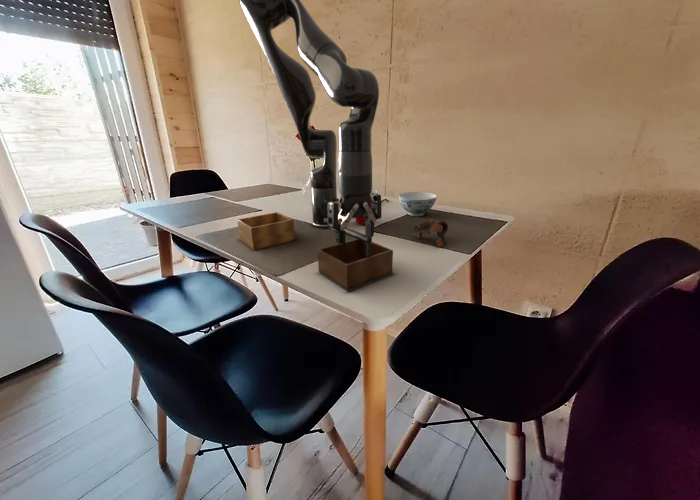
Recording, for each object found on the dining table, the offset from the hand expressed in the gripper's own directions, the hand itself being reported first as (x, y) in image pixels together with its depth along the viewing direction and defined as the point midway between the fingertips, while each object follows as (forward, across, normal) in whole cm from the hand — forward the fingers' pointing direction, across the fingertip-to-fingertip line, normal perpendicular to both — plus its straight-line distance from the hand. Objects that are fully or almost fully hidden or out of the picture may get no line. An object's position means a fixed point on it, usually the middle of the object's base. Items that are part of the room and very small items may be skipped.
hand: (355, 240), depth 75 cm
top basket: (+8, 0, 0) cm, 8 cm away
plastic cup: (+9, +29, +32) cm, 44 cm away
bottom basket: (+9, -7, +38) cm, 40 cm away
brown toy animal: (+9, +33, +3) cm, 34 cm away
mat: (+9, 0, 0) cm, 9 cm away
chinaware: (+9, +54, +28) cm, 61 cm away
